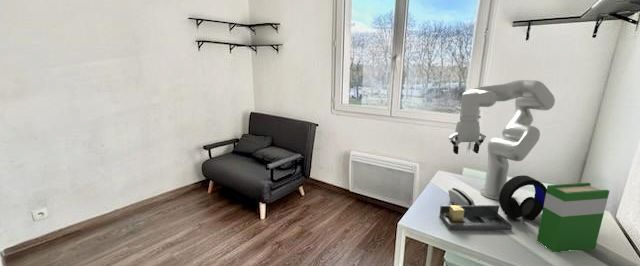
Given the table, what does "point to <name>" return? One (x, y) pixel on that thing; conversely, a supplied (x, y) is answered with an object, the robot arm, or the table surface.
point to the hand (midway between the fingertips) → (465, 152)
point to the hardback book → (572, 217)
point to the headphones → (529, 206)
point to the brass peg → (456, 214)
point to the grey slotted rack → (476, 218)
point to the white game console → (460, 197)
